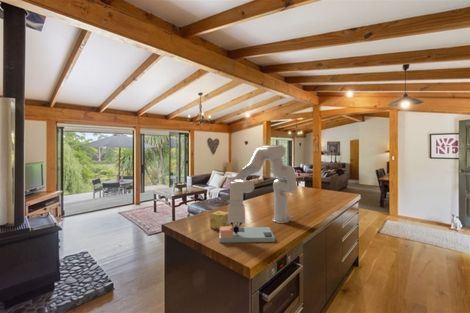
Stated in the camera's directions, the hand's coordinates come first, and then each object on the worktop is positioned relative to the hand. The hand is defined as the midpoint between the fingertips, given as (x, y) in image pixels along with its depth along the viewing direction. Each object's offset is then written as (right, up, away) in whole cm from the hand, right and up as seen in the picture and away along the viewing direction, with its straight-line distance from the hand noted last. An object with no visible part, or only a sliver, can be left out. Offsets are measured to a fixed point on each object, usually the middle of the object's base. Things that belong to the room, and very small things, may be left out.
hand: (236, 233), depth 138 cm
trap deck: (+6, -4, +5) cm, 8 cm away
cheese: (-11, -3, +22) cm, 25 cm away
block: (-6, -1, -2) cm, 6 cm away
